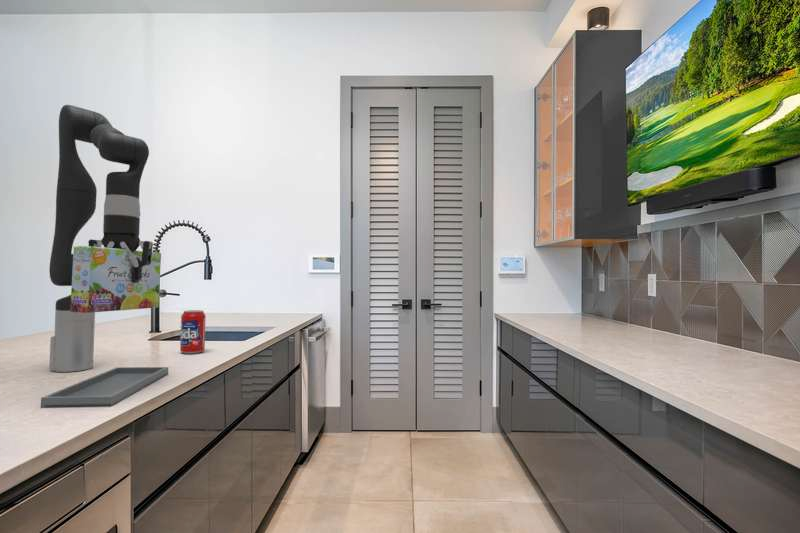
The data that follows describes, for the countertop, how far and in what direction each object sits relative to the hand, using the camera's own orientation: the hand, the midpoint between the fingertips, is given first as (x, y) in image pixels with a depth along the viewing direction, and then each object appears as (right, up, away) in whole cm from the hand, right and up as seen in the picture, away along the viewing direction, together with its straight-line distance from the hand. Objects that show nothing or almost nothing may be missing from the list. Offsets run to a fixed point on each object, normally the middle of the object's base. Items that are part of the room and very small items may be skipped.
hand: (120, 282), depth 106 cm
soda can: (-5, -27, +47) cm, 54 cm away
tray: (-1, -26, -1) cm, 26 cm away
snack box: (0, -7, 0) cm, 7 cm away
